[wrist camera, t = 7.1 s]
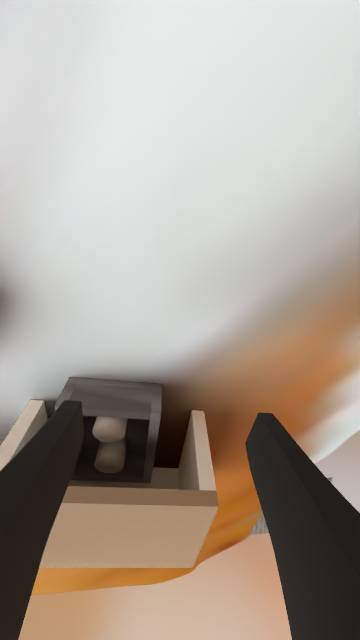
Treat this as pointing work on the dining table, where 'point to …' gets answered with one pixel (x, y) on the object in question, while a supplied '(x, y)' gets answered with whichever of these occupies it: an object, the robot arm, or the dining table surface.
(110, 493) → the shallow storage bin
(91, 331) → the dining table surface
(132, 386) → the tray
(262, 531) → the architectural model
